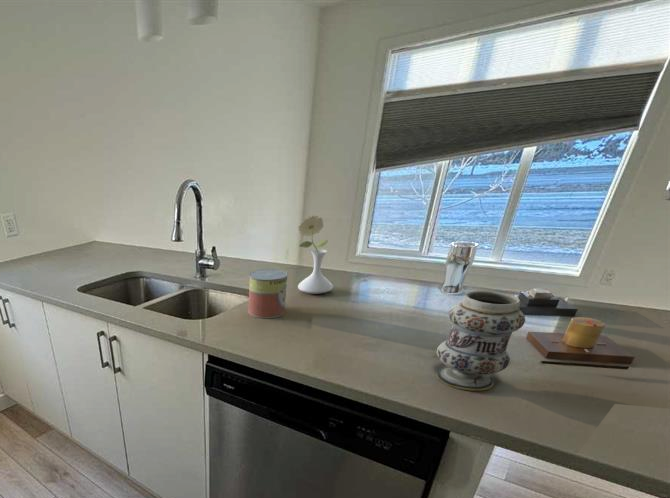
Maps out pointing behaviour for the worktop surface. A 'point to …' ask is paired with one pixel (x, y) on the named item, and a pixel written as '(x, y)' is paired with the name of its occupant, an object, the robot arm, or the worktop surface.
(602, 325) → the dial
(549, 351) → the volume panel
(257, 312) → the canned food
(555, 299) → the piano block
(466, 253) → the beer glass
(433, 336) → the worktop surface
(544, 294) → the key
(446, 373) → the apothecary jar
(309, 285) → the flower in vase
